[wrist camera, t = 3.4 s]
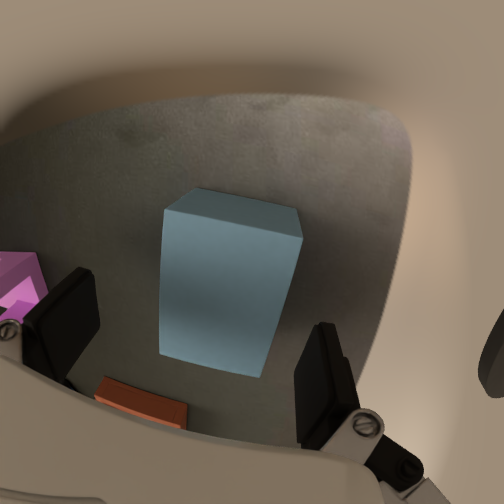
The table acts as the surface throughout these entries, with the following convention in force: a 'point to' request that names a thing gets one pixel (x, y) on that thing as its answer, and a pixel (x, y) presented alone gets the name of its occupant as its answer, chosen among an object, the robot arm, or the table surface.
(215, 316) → the pad
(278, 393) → the table surface
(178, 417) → the tray
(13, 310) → the bracket
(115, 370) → the table surface
